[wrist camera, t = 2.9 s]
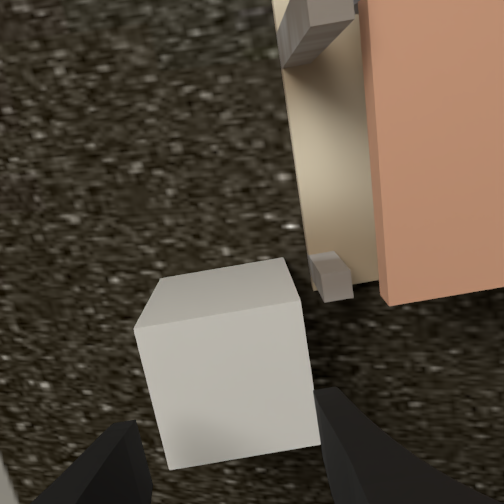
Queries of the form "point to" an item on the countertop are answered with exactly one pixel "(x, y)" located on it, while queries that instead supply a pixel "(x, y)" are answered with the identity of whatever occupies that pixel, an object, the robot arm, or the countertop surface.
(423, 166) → the trapdoor
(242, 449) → the off-white sharp-edged cube
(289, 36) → the frame
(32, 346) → the countertop surface
